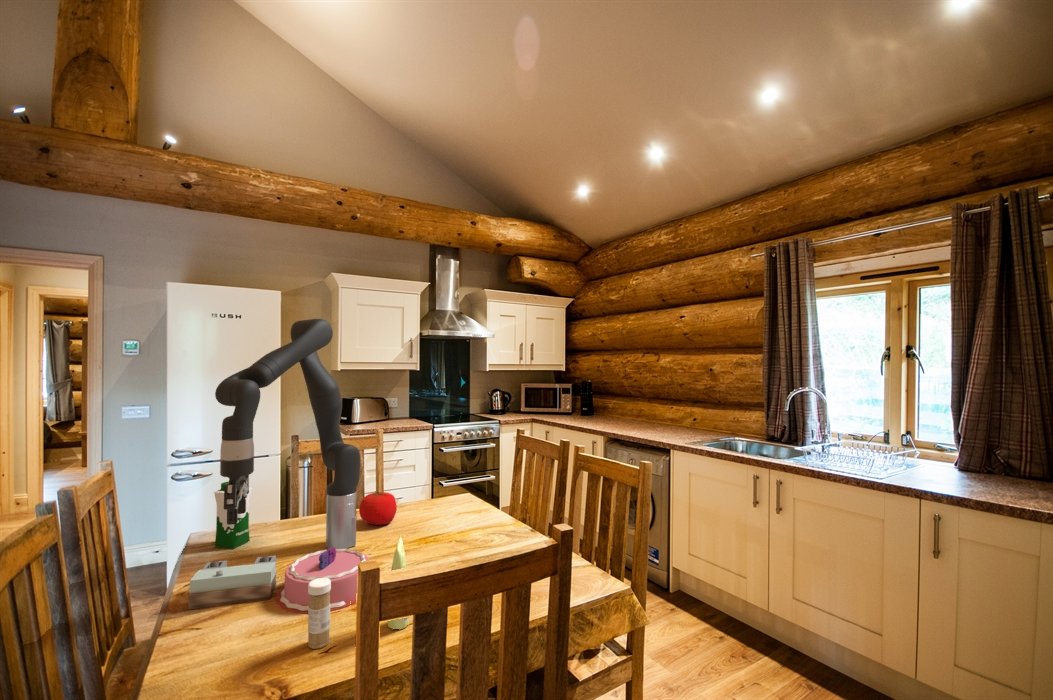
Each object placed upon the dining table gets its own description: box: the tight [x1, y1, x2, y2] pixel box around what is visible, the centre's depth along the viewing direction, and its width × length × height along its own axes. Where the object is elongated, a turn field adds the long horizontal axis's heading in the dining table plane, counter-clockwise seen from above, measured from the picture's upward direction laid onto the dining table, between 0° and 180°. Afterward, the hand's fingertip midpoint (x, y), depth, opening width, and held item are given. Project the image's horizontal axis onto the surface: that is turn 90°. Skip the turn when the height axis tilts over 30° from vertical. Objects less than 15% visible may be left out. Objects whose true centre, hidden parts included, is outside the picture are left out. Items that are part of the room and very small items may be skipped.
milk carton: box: [213, 481, 253, 550], centre depth 160 cm, size 9×9×20 cm
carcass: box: [187, 555, 277, 610], centre depth 127 cm, size 18×10×7 cm, turn 107°
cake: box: [275, 548, 370, 615], centre depth 130 cm, size 25×25×11 cm
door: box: [189, 555, 277, 594], centre depth 128 cm, size 18×11×4 cm, turn 107°
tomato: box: [358, 491, 397, 526], centre depth 181 cm, size 13×14×12 cm
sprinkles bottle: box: [307, 578, 331, 650], centre depth 106 cm, size 5×5×14 cm
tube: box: [387, 535, 410, 630], centre depth 114 cm, size 6×5×20 cm
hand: (236, 518), depth 126 cm, fingers open, 8 cm apart
